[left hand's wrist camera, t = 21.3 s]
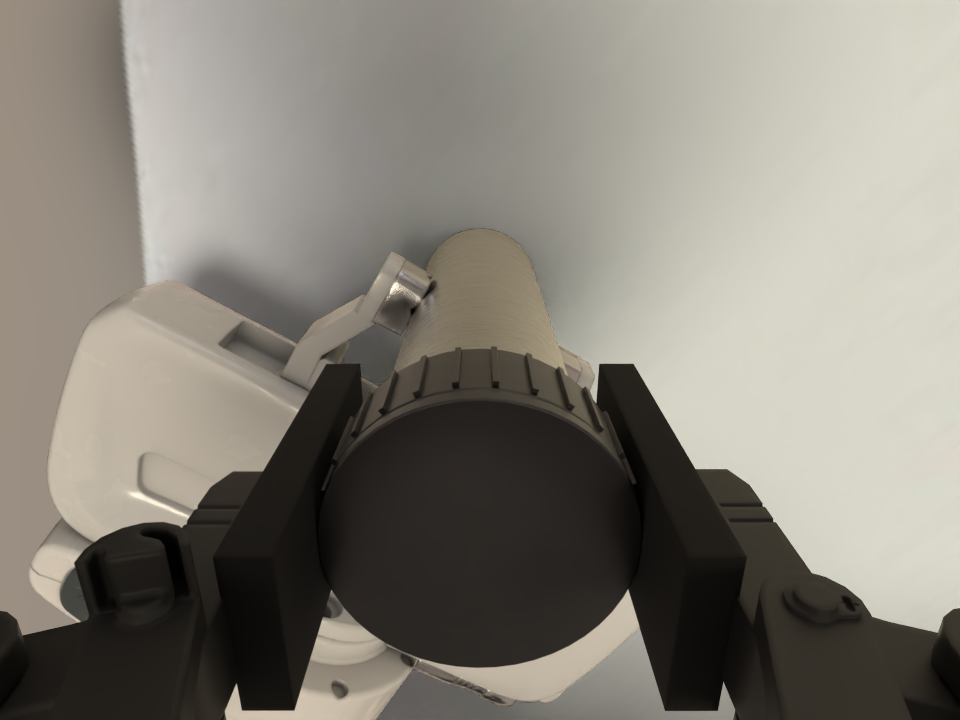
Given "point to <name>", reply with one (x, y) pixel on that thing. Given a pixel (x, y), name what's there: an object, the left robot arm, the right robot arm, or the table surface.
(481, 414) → the lid
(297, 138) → the table surface
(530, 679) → the right robot arm
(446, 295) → the beige long cylinder
